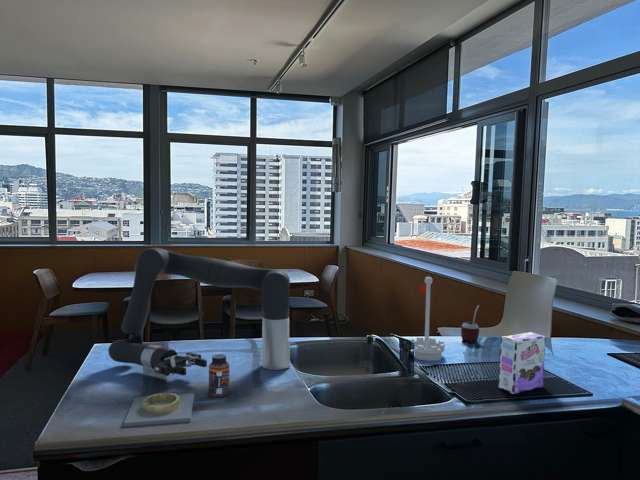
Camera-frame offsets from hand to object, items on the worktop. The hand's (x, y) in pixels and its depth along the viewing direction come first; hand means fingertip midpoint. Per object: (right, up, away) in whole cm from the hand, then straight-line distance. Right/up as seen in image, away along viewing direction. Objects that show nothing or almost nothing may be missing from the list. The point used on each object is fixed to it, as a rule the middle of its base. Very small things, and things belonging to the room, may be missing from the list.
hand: (196, 367), depth 141 cm
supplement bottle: (+8, -7, -4) cm, 11 cm away
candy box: (+100, -8, +4) cm, 100 cm away
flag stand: (+77, -5, +34) cm, 85 cm away
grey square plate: (-5, -7, -16) cm, 18 cm away
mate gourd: (+100, -4, +53) cm, 113 cm away
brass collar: (-5, -7, -16) cm, 18 cm away
